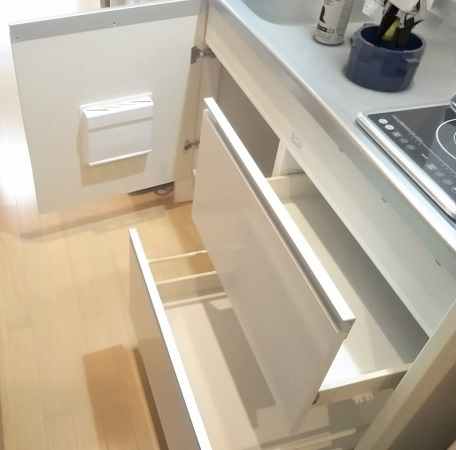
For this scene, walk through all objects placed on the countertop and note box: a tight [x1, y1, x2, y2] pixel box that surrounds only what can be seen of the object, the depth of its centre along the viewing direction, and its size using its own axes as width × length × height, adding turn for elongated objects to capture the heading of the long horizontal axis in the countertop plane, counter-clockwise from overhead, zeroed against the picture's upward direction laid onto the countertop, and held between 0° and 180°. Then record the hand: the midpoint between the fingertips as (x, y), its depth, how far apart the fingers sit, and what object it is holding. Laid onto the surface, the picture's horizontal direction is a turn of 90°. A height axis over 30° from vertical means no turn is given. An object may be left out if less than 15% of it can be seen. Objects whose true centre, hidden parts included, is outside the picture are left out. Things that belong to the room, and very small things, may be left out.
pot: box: [344, 22, 428, 93], centre depth 108 cm, size 14×19×8 cm
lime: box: [382, 16, 401, 43], centre depth 104 cm, size 4×5×5 cm
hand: (390, 40), depth 105 cm, fingers closed on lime, 4 cm apart
